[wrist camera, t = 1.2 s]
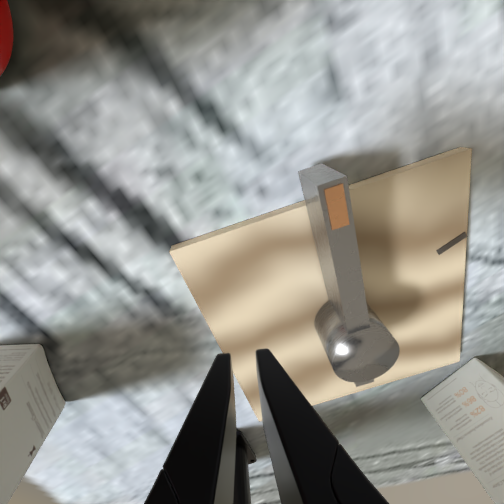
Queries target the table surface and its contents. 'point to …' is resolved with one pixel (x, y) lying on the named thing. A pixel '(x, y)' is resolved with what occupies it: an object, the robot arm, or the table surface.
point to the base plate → (312, 283)
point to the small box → (474, 421)
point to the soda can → (5, 35)
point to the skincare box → (24, 411)
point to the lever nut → (344, 283)
